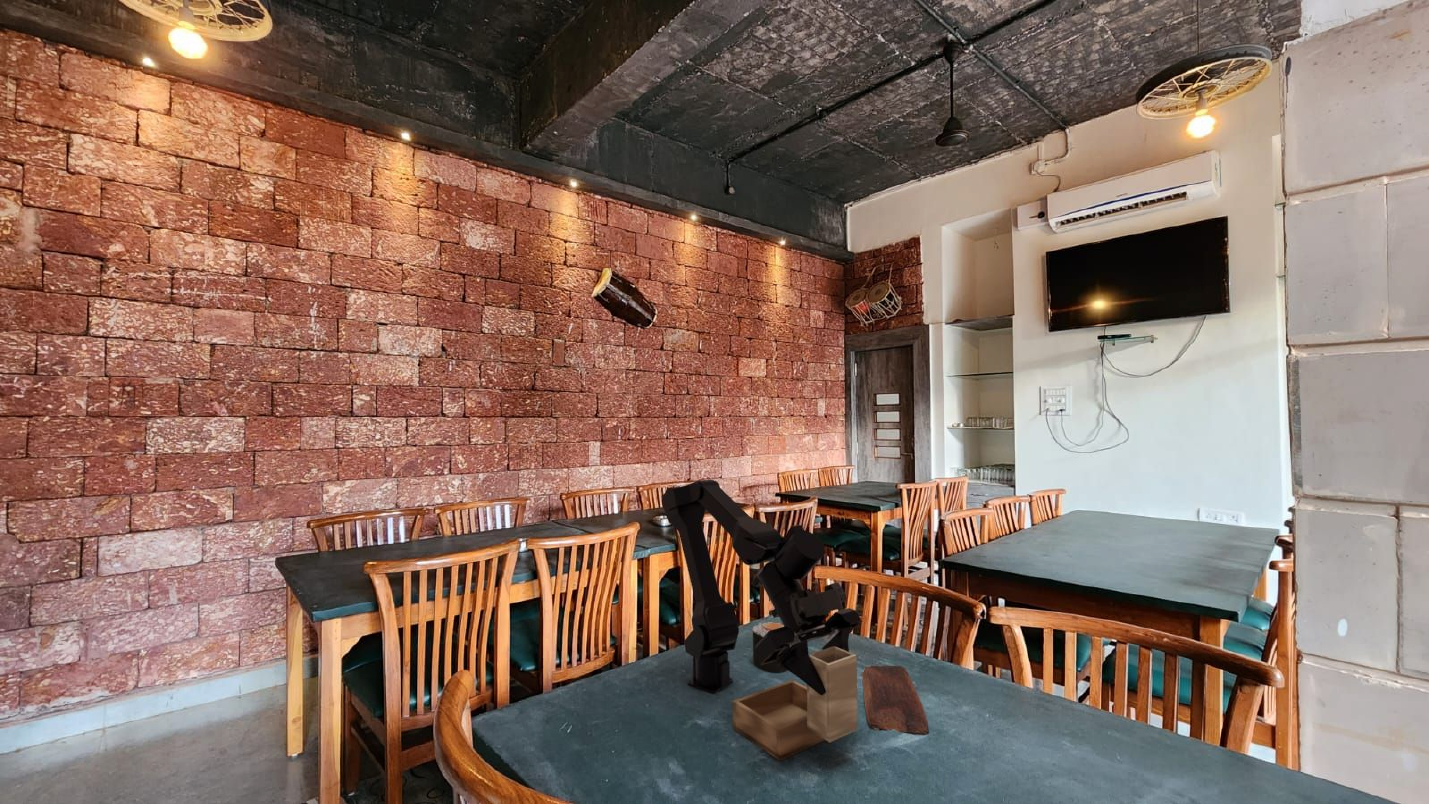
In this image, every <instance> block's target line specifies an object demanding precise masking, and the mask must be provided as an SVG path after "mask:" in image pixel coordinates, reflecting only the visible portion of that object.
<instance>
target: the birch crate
mask: <svg viewBox="0 0 1429 804" xmlns="http://www.w3.org/2000/svg"><path fill="white" fill-rule="evenodd" d="M808 654H809V653H808ZM857 656H858V655H857V654H854V653H852V652H850V651H849V652H847V651H845V650H843V649H840V648H838V647H835V646H833V647H830V648H827V649H824V650H818V651H815V652H813V653H810V654H809V657H810V659H811V661H812V663H813V665H814V667H815V669H816V670H817V672H818V674H819V676H820V678H821V680H822V682H823V685H824V687H825V690H826V693H825V694H824V695H820V694H818V693H817V692H816V691H815V690H813V689H812V688H811V687H810V686H808V685H807V684H806V687H807V729H808V730H809V731H811V732H813V733H814V734H816V735H818V736H819V737H821V738H823V739H824V740H825V741H826V742H828V743H832V742H835V741H836V740H838V739H841V738H843V737H845V736H847V735H849V734H851V733H854V732H855V731H857V730H858V726H859V725H858V663H857V662H858V661H857V659H858V657H857Z"/></svg>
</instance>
